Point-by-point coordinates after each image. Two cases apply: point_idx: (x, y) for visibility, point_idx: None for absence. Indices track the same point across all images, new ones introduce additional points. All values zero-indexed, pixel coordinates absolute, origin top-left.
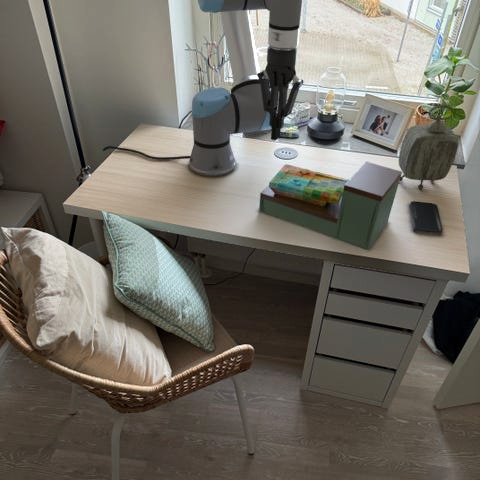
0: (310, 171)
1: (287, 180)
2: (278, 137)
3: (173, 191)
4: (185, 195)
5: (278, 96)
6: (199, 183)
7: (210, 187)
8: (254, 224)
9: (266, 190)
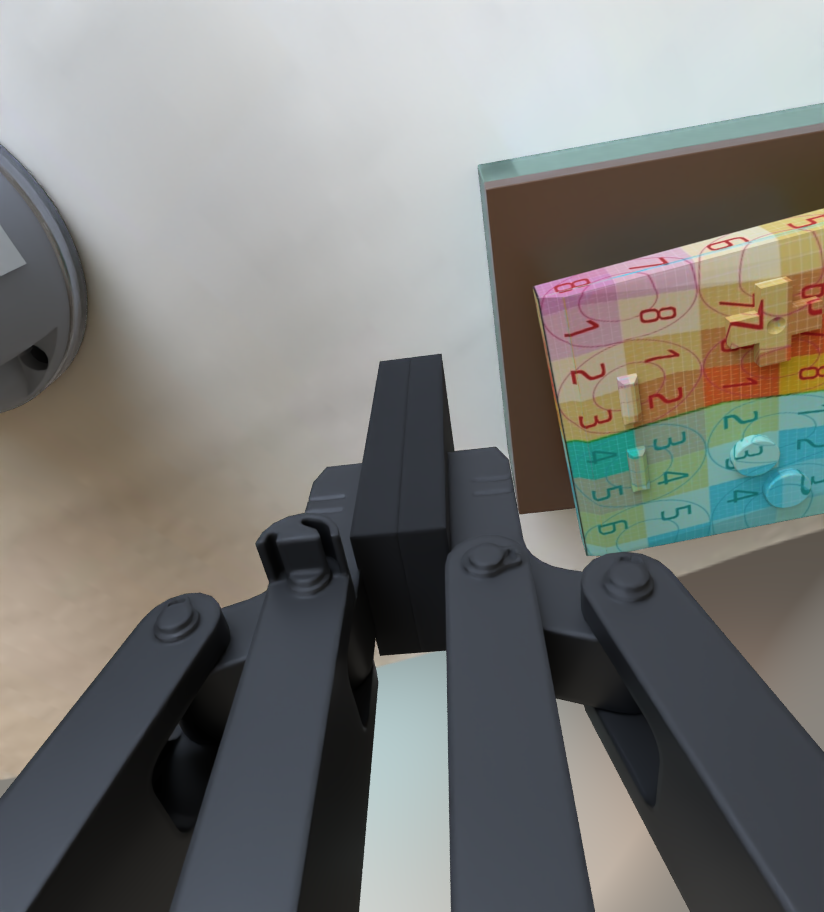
0: (809, 268)
1: (690, 488)
2: (446, 392)
3: (94, 568)
4: (156, 559)
5: (306, 862)
6: (92, 453)
7: (162, 445)
8: (556, 536)
9: (534, 477)
